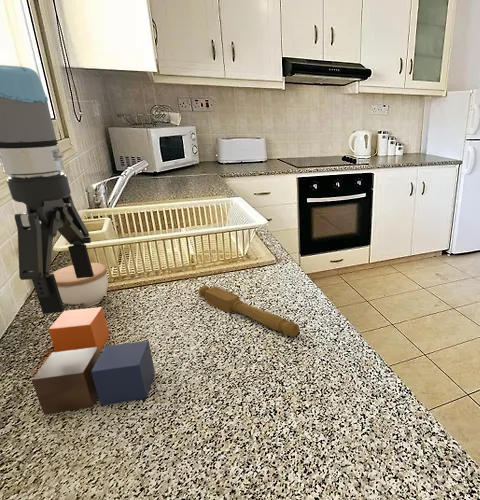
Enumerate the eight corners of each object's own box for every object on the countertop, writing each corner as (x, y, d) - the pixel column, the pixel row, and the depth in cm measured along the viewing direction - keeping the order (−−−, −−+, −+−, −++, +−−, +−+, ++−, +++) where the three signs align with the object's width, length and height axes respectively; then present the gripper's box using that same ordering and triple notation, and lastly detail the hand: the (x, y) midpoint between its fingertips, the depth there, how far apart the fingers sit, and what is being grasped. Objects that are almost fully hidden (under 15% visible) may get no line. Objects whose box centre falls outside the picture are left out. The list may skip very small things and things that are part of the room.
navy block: (100, 405, 58) (90, 371, 55) (113, 377, 63) (105, 345, 61) (146, 398, 59) (139, 364, 57) (155, 371, 65) (148, 340, 63)
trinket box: (46, 307, 84) (34, 269, 80) (92, 288, 93) (83, 253, 90) (78, 318, 80) (67, 279, 77) (123, 296, 89) (115, 260, 86)
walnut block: (43, 414, 56) (31, 379, 53) (62, 385, 62) (51, 352, 59) (93, 406, 57) (83, 372, 55) (106, 378, 63) (98, 346, 61)
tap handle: (290, 328, 73) (194, 286, 88) (290, 341, 74) (196, 298, 90) (300, 321, 76) (205, 282, 91) (300, 333, 77) (207, 293, 92)
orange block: (57, 359, 67) (48, 329, 65) (72, 339, 73) (63, 310, 71) (98, 354, 69) (90, 324, 67) (109, 335, 75) (102, 306, 72)
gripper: (23, 188, 49) (65, 327, 57) (91, 162, 71) (115, 263, 79) (-48, 191, 47) (6, 334, 55) (45, 163, 69) (75, 267, 77)
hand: (71, 292), depth 67 cm, fingers open, 13 cm apart
